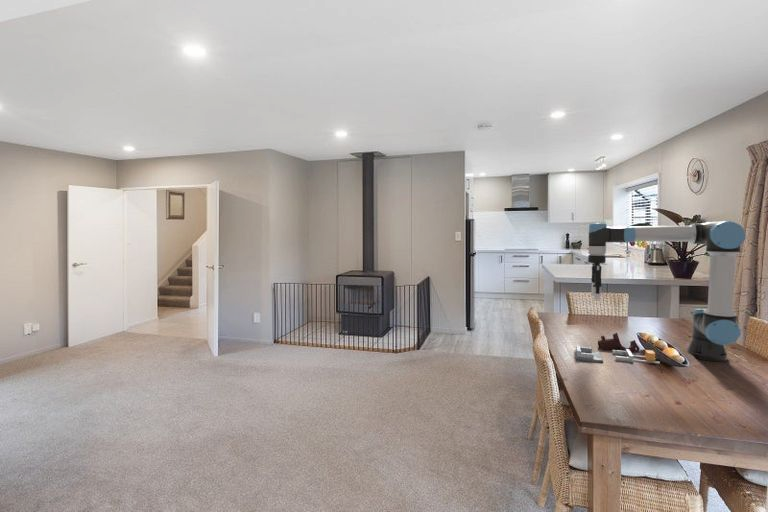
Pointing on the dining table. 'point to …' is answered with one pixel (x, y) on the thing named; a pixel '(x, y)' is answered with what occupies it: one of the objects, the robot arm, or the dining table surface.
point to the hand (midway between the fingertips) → (595, 297)
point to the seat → (592, 356)
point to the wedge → (649, 355)
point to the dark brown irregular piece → (616, 344)
